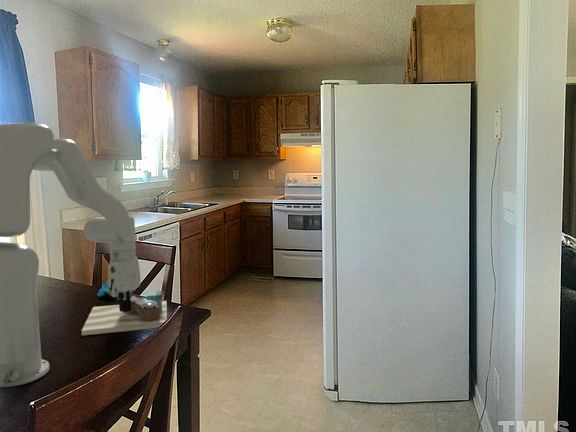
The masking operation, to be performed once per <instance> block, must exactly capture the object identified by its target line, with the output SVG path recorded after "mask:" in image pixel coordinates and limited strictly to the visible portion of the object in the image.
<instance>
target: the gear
mask: <svg viewBox="0 0 576 432" xmlns="http://www.w3.org/2000/svg"><path fill="white" fill-rule="evenodd" d="M105 294H107V295H109V296H111V291H110V290H109V281H108V279H107V280H106V282H105V283H104V284H103V285H102V286H101V288H100V289H99V290H98V293H97V296H98V297H99V298H102V296H103V297H104V296H105ZM114 298H115V299H116V298H117V297H114Z"/></svg>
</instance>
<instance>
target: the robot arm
mask: <svg viewBox="0 0 576 432" xmlns="http://www.w3.org/2000/svg"><path fill="white" fill-rule="evenodd" d="M33 171H41V172H46V171H47V172H53V173H54V174H55V177H56V178H57V179H58V182H59V184H60V185H61V186H62V188H63V190H64V192H65V194H66V195H67V197H68V199H70V200H71V201H72V202H75V203H77V204H78V205H81V206H83V207H85V208H88V209H91V210H92V211H94V212H96V213H97V214H98V213H99V215H101V217H100V216H98V217H97V216H96V217H92V218H90V219H88V220H87V221H86V222H85V224H84V227H83V235H84V236H85V238H86V239H88V241H91V242H93V243H94V242H95V243H102V244H103V243H107V244H108V243H109V257H110V260H109V264H108V265H109V266H108V278H107V280H108V281H109V290H110V291H111V294H110V296H111V297H112V298H115V297H116V298H117V300H118V303H119V304H118V305H119V310H120V311H121V312H128V311H131V299H130V298H132V295H133V292H135V291H136V290H137V288H139V287H140V286H141V283H142V281H141V271H140V263H139V259H138V256H136V249H137V248H136V229H135V227H136V225H135V224H136V223H135V218H134V217H133V216H132V215H129V213H128V210H127V208H126V207H125V205H124V204H123V203H122V202H121V200H119V199H118V198H117V197H116V196H114V195H113V194H112V193H111V192H110V191H108V190H107V189H106V188H104V187H103V186H102V185H101V184H99V182H98V180H97V179H96V177H95V174H94V173H93V171H92V169H91V167H90V165H89V163H88V161H87V159H86V157H85V155H84V154H83V151H82V149H81V147H80V146H79V145H78V144H77V143H76V141H74V140H72V139H67V138H55V134H54V132H53V130H52V129H51V128H50V127H49V126H47V125H46V124H42V123H35V122H21V123H20V122H19V123H3V124H0V237H1V238H12V237H13V238H15V237H19V236H22V235H24V234H25V233H27V231H28V230H29V227H30V223H31V196H30V195H31V194H30V186H31V185H30V184H31V183H30V182H31V174H32V172H33ZM39 268H40V260H39V257H38V255H37V252H35V250H34V249H33V248H31V247H30V246H28V245H27V244H26V245H25V244H23V243H17V242H3V241H0V388H11V387H17V386H22V385H25V384H28V383H31V382H34V381H36V380H39V379H40V378H42V377H43V376H45V375H46V374H47V373H48V372H49V370H50V362H49V361H48V360H46V359H43V358H42V349H41V337H40V336H41V335H40V321H39V309H38V298H37V297H38V295H37V288H38V287H37V286H38V285H37V284H38V276H39Z"/></svg>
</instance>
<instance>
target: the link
mask: <svg viewBox="0 0 576 432" xmlns="http://www.w3.org/2000/svg"><path fill="white" fill-rule="evenodd" d="M130 299H131V311H132V312H134V313H135V314H137V315H139V316H141V318H142V319H144V320H146V321H149V320H153V319H157V318H160V313H159V306H154V307H153V308H149V309H147V308H146V307H143V303H145V302H146V301H145V300H143V299H142V298H139V297H137V296H135V295H133V294H132V298H130Z"/></svg>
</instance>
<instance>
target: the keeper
mask: <svg viewBox="0 0 576 432" xmlns="http://www.w3.org/2000/svg"><path fill="white" fill-rule="evenodd" d="M146 292H147V293H146V301H153V300H154V301H155V302H156V304H157V306H159V313H162V301H163V298H162V295H163V294H162V290H154V291H152V290H151V291H146Z"/></svg>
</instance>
